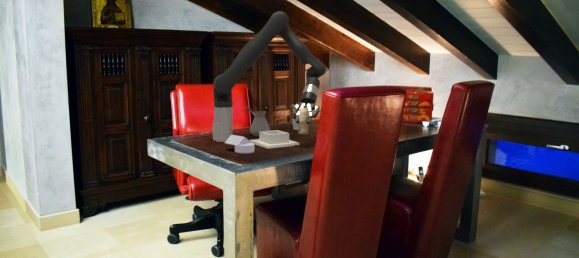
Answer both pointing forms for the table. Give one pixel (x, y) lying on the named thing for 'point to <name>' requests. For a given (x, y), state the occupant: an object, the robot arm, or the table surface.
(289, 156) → the table surface
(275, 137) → the socket plate
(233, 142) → the wedge on round base
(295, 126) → the house plant
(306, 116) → the coupling plug
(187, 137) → the table surface
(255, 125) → the coffee pot
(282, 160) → the table surface
